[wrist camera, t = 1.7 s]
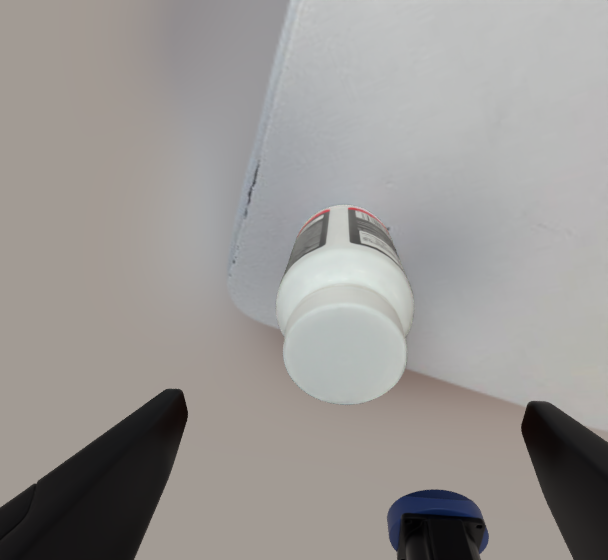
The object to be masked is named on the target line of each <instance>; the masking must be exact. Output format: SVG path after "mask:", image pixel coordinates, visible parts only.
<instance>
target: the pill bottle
mask: <svg viewBox="0 0 608 560" xmlns="http://www.w3.org/2000/svg"><path fill="white" fill-rule="evenodd" d="M276 315H277V321H278V324H279V327H280V330H281V332H282V334H283V336H284V338H285V339H284V346H283V359H284V363H285V366H286V370H287V372H288V374H289V375H290V377H291V379H292V380H293V381H294V382H295V383H296V384H297V386H298V387H299V388H301V389H302V390H303V391H304V392H306V393H307V394H308V395H310V396H312V397H314V398H316V399H319V400H322V401H325V402H328V403H333V404H340V405H353V404H361V403H365V402H368V401H372V400H374V399H376V398H378V397H380V396H382V395H384V394H385V393H386V392H388V391H389V390H390V389H392V388H393V387H394V386H395V385H396V384H397V382H398V381H399V380H400V378H401V376H402V375H403V373H404V370H405V367H406V363H407V354H408V353H407V345H406V340H405V338H406V336H407V335H408V333H409V330H410V328H411V325H412V321H413V316H414V300H413V294H412V289H411V287H410V284H409V281H408V279H407V277H406V274H405V272H404V270H403V267H402V265H401V262H400V260H399V257H398V255H397V252H396V249H395V247H394V245H393V241H392V239H391V237H390V235H389V233H388V231H387V229H386V227H385V226H384V224H383V223H382V222H381V220H380V219H379V218H378V217H376V216H375V215H374V214H372V213H371V212H369V211H367V210H365V209H363V208H360V207H357V206H352V205H336V206H331V207H328V208H325V209H323V210H321V211H319V212H317V213H315V214H314V215H313V216H312V217H311V218H310V219H309V220H307V222H306V223H305V224H304V226H303V227H302V229H301V230H300V232H299V234H298V236H297V239H296V241H295V244H294V247H293V250H292V252H291V256H290V259H289V262H288V265H287V267H286V270H285V273H284V276H283V278H282V280H281V283H280V286H279V290H278V293H277V300H276Z"/></svg>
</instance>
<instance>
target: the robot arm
mask: <svg viewBox="0 0 608 560" xmlns="http://www.w3.org/2000/svg"><path fill="white" fill-rule="evenodd" d="M187 418H188V411H187V406H186V402H185V398H184V394H183V392H182V390H180V389H166V390H164V391H163V392H161V393H160V394H158V395H157V396H156V397H155V398H153V399H151V400H150V401H149V402H147V403H146V404H145V405H143V406H142V407H141V408H139V409H138V410H136V411H135V412H133V413H132V414H131V415H129V416H128V417H126V418H125V419H124V420H122V421H121V422H120V423H118V424H117V425H115V426H114V427H112V428H111V429H110V430H108V431H107V432H106V433H104V434H103V435H101V436H100V437H99V438H97V439H96V440H94V441H93V442H92V443H90V444H89V445H87V446H86V447H85V448H83V449H82V450H80V451H79V452H78V453H76V454H75V455H74V456H72V457H71V458H69V459H68V460H66V461H65V462H64V463H62V464H61V465H60V466H58V467H57V468H55V469H54V470H53V471H51V472H50V473H48V474H47V475H46V476H44V477H43V478H41V479H40V480H39V481H38V482H37V484H33V485H31V486H30V487H29V488H27V489H26V490H25V491H23V492H22V493H20V494H19V495H18V496H16V497H15V498H13V499H12V500H10V501H9V502H7V503H6V504H5V505H3V506H2V507H0V560H134V558H135V556H136V554H137V551H138V549H139V546H140V544H141V542H142V539H143V537H144V535H145V533H146V530H147V528H148V525H149V523H150V520H151V518H152V516H153V514H154V511H155V509H156V507H157V504H158V502H159V500H160V497H161V495H162V493H163V490H164V488H165V486H166V483H167V481H168V478H169V475H170V473H171V470H172V467H173V464H174V461H175V457H176V454H177V451H178V448H179V444H180V441H181V438H182V435H183V432H184V428H185V425H186V422H187ZM521 429H522V430H521V431H522V435H523V438H524V441H525V443H526V446H527V449H528V452H529V455H530V458H531V461H532V463H533V466H534V469H535V472H536V475H537V478H538V481H539V483H540V486H541V489H542V492H543V494H544V497H545V499H546V501H547V504H548V506H549V508H550V510H551V512H552V515H553V517H554V519H555V521H556V523H557V525H558V527H559V529H560V532H561V534H562V536H563V538H564V540H565V542H566V544H567V546H568V548H569V551H570V553H571V555H572V557H573V559H574V560H608V442H607V441H605V440H603V439H602V438H601V437H599V436H598V435H596V434H595V433H593V432H592V431H590V430H589V429H588V428H586V427H585V426H583V425H582V424H580V423H579V422H577V421H576V420H574V419H573V418H571V417H570V416H569V415H567V414H566V413H564V412H563V411H561V410H560V409H558V408H557V407H555V406H554V405H552V404H551V403H549V402H545V401H531V402H529V403H528V405H527V408H526V411H525V415H524V418H523V421H522V426H521ZM485 528H486V525H485V522H484V520H483V519H482V518H476V517H461V516H446V515H432V514H417V513H404V514H402V515H401V522H400V531H399V540H398V548H397V560H481V559H480V555H479V550H480V546H481V543H482V539H483V535H484V532H485Z"/></svg>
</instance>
